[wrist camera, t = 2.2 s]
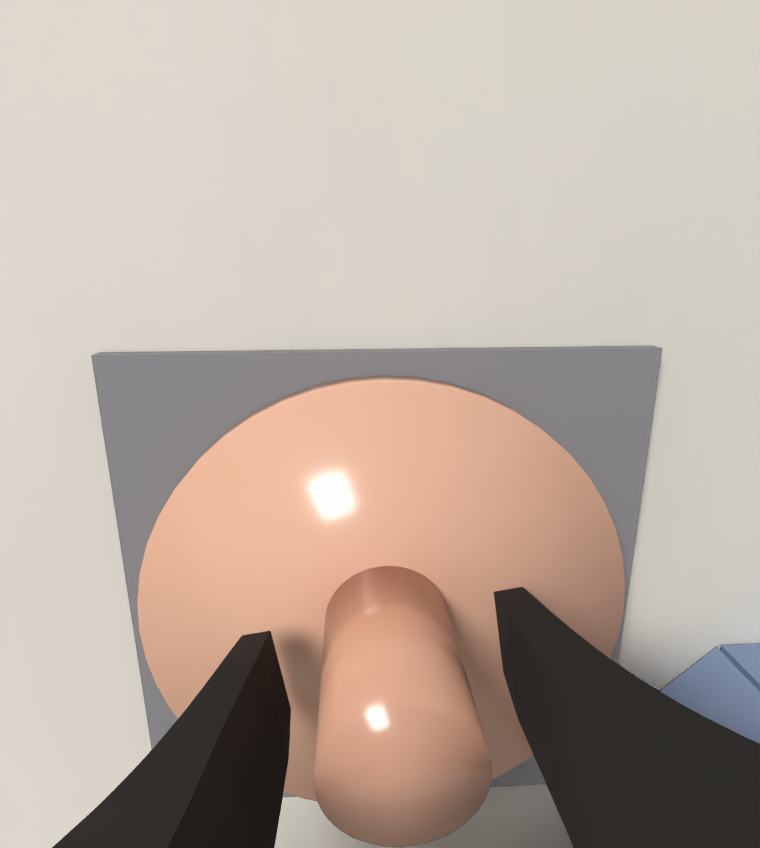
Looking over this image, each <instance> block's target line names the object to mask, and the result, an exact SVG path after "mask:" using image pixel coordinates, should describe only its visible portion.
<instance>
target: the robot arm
mask: <svg viewBox="0 0 760 848" xmlns="http://www.w3.org/2000/svg"><path fill="white" fill-rule="evenodd" d="M494 600H495V608H496V616H497V625H498V633H499V641H500V650H501V658H502V666H503V673H504V676H505V679H506V683H507V686H508V689H509V692H510V696H511V699H512V702H513V705H514V708H515V711H516V714H517V717H518V720H519V723H520V725H521V727H522V730H523V732H524V734H525V736H526V739H527V741H528V743H529V746H530V748H531V750H532V753H533V755H534V757H535V759H536V762H537V764H538V766H539V769H540V771H541V773H542V775H543V778H544V780H545V782H546V784H547V787H548V789H549V791H550V794H551V796H552V798H553V800H554V803H555V805H556V807H557V809H558V812H559V814H560V816H561V819H562V821H563V823H564V825H565V828H566V830H567V832H568V835H569V837H570V840H571V842H572V845H573V847H574V848H760V744H759V743H757V742H755V741H753V740H751V739H748V738H746V737H744V736H742V735H740V734H738V733H736V732H734V731H732V730H730V729H728V728H726V727H724V726H722V725H720V724H718V723H716V722H714V721H712V720H710V719H708V718H706V717H704V716H702V715H700V714H699V713H697V712H695V711H693V710H691V709H689V708H687V707H686V706H684V705H682V704H680V703H679V702H677V701H675V700H674V699H672V698H670V697H669V696H667V695H665V694H663V693H662V692H660V691H658V690H657V689H655V688H653V687H652V686H650V685H648V684H647V683H645V682H644V681H642V680H640V679H639V678H637V677H636V676H634V675H633V674H631V673H630V672H629V671H627V670H626V669H624V668H623V667H621V666H620V665H619V664H617V663H616V662H614V661H613V660H611V659H610V658H609V657H607V656H606V655H605V654H603V653H602V652H601V651H599V650H598V649H597V648H595V647H594V646H593V645H592V644H590V643H589V642H588V641H586V640H585V639H584V638H583V637H581V636H580V635H579V634H577V633H576V632H575V631H574V630H572V629H571V628H570V627H569V626H568V625H566V624H565V623H564V622H563V621H562V620H560V619H559V618H558V617H557V616H556V615H555V614H553V613H552V612H551V611H550V610H549V609H548V608H547V607H545V606H544V605H543V604H542V603H541V602H540V601H539V600H538V599H536V598H535V597H534V596H533V595H532V594H531V593H530V592H529V591H527V590H526V589H525V588H523V587H518V588H512V589H506V590H501V591H495V592H494ZM290 721H291V707H290V703H289V699H288V695H287V692H286V688H285V684H284V680H283V676H282V673H281V669H280V665H279V661H278V657H277V653H276V650H275V646H274V642H273V638H272V634H271V631H265V632H259V633H253V634H247V635H242V636H241V637H240V639H239V640H238V641H237V642H236V644H235V645H234V646H233V648H232V649H231V650H230V652H229V653H228V654H227V656H226V657H225V658H224V660H223V661H222V662H221V664H220V665H219V666H218V668H217V669H216V671H215V672H214V673H213V675H212V676H211V677H210V679H209V680H208V681H207V683H206V684H205V685H204V687H203V688H202V689H201V690H200V692H199V693H198V694H197V696H196V697H195V698H194V699H193V701H192V702H191V703H190V705H189V706H188V707H187V708H186V710H185V711H184V712H183V714H182V715H181V716H180V717H179V718H178V720H177V721H176V722H175V723H174V724H173V725H172V727H171V728H170V729H169V730H168V731H167V733H166V734H165V735H164V736H163V737H162V738H161V740H160V741H159V742H158V743H157V744H156V746H155V747H154V748H153V749H152V750H151V751H150V753H149V754H148V755H147V756H146V757H145V758H144V759H143V760H142V761H141V763H140V764H139V765H138V766H137V767H136V768H135V769H134V770H133V771H132V772H131V773H130V774H129V775H128V776H127V777H126V778H125V779H124V780H123V781H122V782H121V783H120V784H119V786H118V787H117V788H116V789H115V790H114V791H113V792H112V793H111V794H110V795H109V796H108V797H107V798H106V799H105V800H104V801H103V802H102V803H101V804H100V805H98V806H97V807H96V808H95V809H94V810H93V811H92V812H91V813H90V814H89V815H88V816H87V817H86V818H84V819H83V820H82V821H81V822H80V823H79V824H78V825H77V826H76V827H75V828H73V829H72V830H71V831H70V832H69V833H68V834H67V835H66V836H65V837H63V838H62V839H61V840H60V841H59V842H58V843H57V844H56V845H55V846H54V847H52V848H274V845H275V839H276V833H277V827H278V822H279V816H280V810H281V804H282V797H283V791H284V785H285V779H286V773H287V766H288V760H289V743H290Z"/></svg>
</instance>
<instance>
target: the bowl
mask: <svg viewBox="0 0 760 848" xmlns="http://www.w3.org/2000/svg"><path fill="white" fill-rule="evenodd" d="M660 692H662V693H663V694H665V695H667V696H669V697H670V698H672V699H674V700H675V701H677V702H679V703H680V704H682V705H684V706H686V707H687V708H689V709H691V710H693V711H695V712H697V713H699V714H700V715H702V716H704V717H706V718H708V719H710V720H712V721H714V722H716V723H718V724H720V725H722V726H724V727H726V728H728V729H730V730H732V731H734V732H736V733H738V734H740V735H742V736H744V737H746V738H748V739H751V740H753V741H755V742H757V743H759V744H760V644H736V645H721V650H719V649H718V648H717V647H716V648H715V649H713V650H712V651H711V652H710V653H708V654H707V655H706V656H704V657H703V658H702V659H701V660H699V661H698V662H697V663H695V664H694V665H693V666H692V667H690V668H689V669H688V670H686V671H685V672H684V673H683V674H681V675H680V676H679V677H677V678H676V679H675V680H674V681H672V682H671V683H670V684H668V685H667V686H666V687H665V688H663V689H662V690H661V691H660Z"/></svg>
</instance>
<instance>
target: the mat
mask: <svg viewBox="0 0 760 848" xmlns="http://www.w3.org/2000/svg"><path fill="white" fill-rule="evenodd" d="M661 354H662V348H659V347H655V346H592V347H509V348H426V349H344V350H261V351H178V352H100V353H97V354H94V355H91V357H92V363H93V370H94V376H95V383H96V389H97V396H98V402H99V409H100V415H101V422H102V428H103V435H104V441H105V448H106V454H107V461H108V467H109V474H110V480H111V487H112V493H113V500H114V506H115V513H116V519H117V526H118V532H119V539H120V545H121V552H122V558H123V565H124V571H125V578H126V584H127V591H128V597H129V604H130V610H131V617H132V623H133V630H134V636H135V643H136V649H137V656H138V662H139V669H140V675H141V682H142V689H143V695H144V702H145V708H146V715H147V721H148V728H149V734H150V741H151V747H152V749H153V748H154V747H155V746H156V744H157V743H158V742H159V741H160V740H161V738H162V737H163V736H164V735H165V734H166V733H167V731H168V730H169V729H170V728H171V727H172V725H173V724H174V723H175V722H176V721H177V720H178V718H177V717H176V715H175V714H174V713H173V711H172V710H171V709H170V707H169V706H168V704H167V702H166V701H165V699H164V697H163V695H162V694H161V692H160V690H159V688H158V687H157V685H156V683H155V680H154V678H153V675H152V673H151V670H150V668H149V665H148V663H147V660H146V657H145V653H144V649H143V645H142V640H141V636H140V632H139V620H138V606H137V600H138V587H139V575H140V570H141V566H142V562H143V558H144V553H145V549H146V545H147V543H148V540H149V538H150V535H151V533H152V530H153V528H154V526H155V523H156V521H157V518H158V516H159V514H160V513H161V511H162V509H163V508H164V506H165V504H166V503H167V501H168V499H169V498H170V496H171V494H172V493H173V491H174V489H175V488H176V487H177V486H178V484H179V483H180V482H181V480H182V479H183V478H184V477H185V475H186V474H187V473H188V472H189V470H190V469H191V468H192V467H193V466H194V464H195V463H196V462H197V461H198V459H199V458H200V457H201V456H202V455H203V453H204V452H205V451H206V450H207V449H208V448H209V447H210V446H212V445H213V444H214V443H215V442H216V441H217V440H218V439H219V438H220V437H221V436H222V435H223V434H225V433H226V432H227V431H228V430H229V429H231V428H232V427H233V426H235V425H236V424H238V423H239V422H241V421H242V420H244V419H245V418H246V417H248V416H249V415H251V414H252V413H254V412H255V411H257V410H259V409H261V408H263V407H265V406H267V405H269V404H271V403H273V402H275V401H277V400H279V399H280V398H282V397H284V396H287V395H290V394H293V393H296V392H299V391H301V390H304V389H307V388H310V387H313V386H315V385H320V384H324V383H329V382H334V381H338V380H343V379H347V378H357V377H369V376H381V375H387V376H409V377H420V378H426V379H431V380H437V381H443V382H448V383H452V384H455V385H458V386H461V387H464V388H467V389H471V390H474V391H477V392H480V393H482V394H484V395H486V396H488V397H491V398H493V399H495V400H497V401H499V402H501V403H503V404H505V405H507V406H509V407H511V408H512V409H514V410H515V411H517V412H518V413H520V414H521V415H523V416H524V417H526V418H527V419H529V420H530V421H532V422H534V423H535V424H536V425H537V426H538V427H540V428H541V429H542V430H543V431H544V432H546V433H547V434H548V435H549V436H550V437H551V438H552V439H553V440H555V441H556V442H557V443H558V444H559V445H560V446H561V447H563V448H564V449H565V450H566V451H567V452H568V453H569V454H570V455H571V456H572V457H573V458H574V460H575V461H576V462H577V463H578V464H579V465H580V467H581V468H582V469H583V470H584V471H585V473H586V474H587V475H588V476H589V477H590V479H591V481H592V482H593V484H594V486H595V487H596V489H597V491H598V492H599V494H600V495H601V497H602V499H603V500H604V502H605V504H606V507H607V509H608V511H609V514H610V516H611V519H612V521H613V523H614V526H615V528H616V532H617V536H618V540H619V544H620V548H621V552H622V556H623V567H624V578H625V593H624V610H623V615H622V620H621V625H620V630H619V635H618V639H617V642H616V644H615V647H614V650H613V653H612V656H611V658H610V659H611V660H613V661H614V662H616V663H617V664H618V659H619V652H620V644H621V637H622V630H623V623H624V616H625V609H626V602H627V595H628V588H629V581H630V574H631V566H632V559H633V552H634V545H635V538H636V531H637V524H638V517H639V510H640V503H641V496H642V488H643V481H644V474H645V467H646V460H647V453H648V446H649V439H650V432H651V425H652V417H653V410H654V403H655V396H656V389H657V382H658V375H659V368H660V361H661ZM534 784H546V782H545V780H544V778H543V775H542V773H541V771H540V769H539V766H538V764H537V762H536V759H535V757H534V755H532V756H531V757H530V758H528V759H527V760H525V761H524V762H523V763H521V764H520V765H518V766H516V767H514V768H513V769H511V770H509V771H507V772H506V773H504V774H502V775H500V776H499V777H497V778H495V779H492V780H491V785H490V787H495V786H514V785H534ZM283 797H297V796H294V795H291V794H288V793H284V792H283Z"/></svg>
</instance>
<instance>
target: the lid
mask: <svg viewBox="0 0 760 848" xmlns="http://www.w3.org/2000/svg"><path fill="white" fill-rule="evenodd" d="M518 587H523V588H525V589H526V590H527V591H529V592H530V593H531V594H532V595H533V596H534V597H535V598H536V599H538V600H539V601H540V602H541V603H542V604H543V605H544V606H545V607H547V608H548V609H549V610H550V611H551V612H552V613H553V614H555V615H556V616H557V617H558V618H559V619H560V620H562V621H563V622H564V623H565V624H566V625H568V626H569V627H570V628H571V629H572V630H574V631H575V632H576V633H577V634H579V635H580V636H581V637H583V638H584V639H585V640H586V641H588V642H589V643H590V644H592V645H593V646H594V647H595V648H597V649H598V650H599V651H601V652H602V653H603V654H605V655H606V656H607V657H609V658H611V656H612V653H613V650H614V647H615V644H616V642H617V639H618V635H619V630H620V625H621V620H622V615H623V610H624V593H625V578H624V567H623V556H622V552H621V548H620V544H619V540H618V536H617V532H616V528H615V526H614V523H613V521H612V519H611V516H610V514H609V511H608V509H607V507H606V504H605V502H604V500H603V499H602V497H601V495H600V494H599V492H598V491H597V489H596V487H595V486H594V484H593V482H592V481H591V479H590V477H589V476H588V475H587V474H586V473H585V471H584V470H583V469H582V468H581V467H580V465H579V464H578V463H577V462H576V461H575V460H574V458H573V457H572V456H571V455H570V454H569V453H568V452H567V451H566V450H565V449H564V448H563V447H561V446H560V445H559V444H558V443H557V442H556V441H555V440H553V439H552V438H551V437H550V436H549V435H548V434H547V433H546V432H544V431H543V430H542V429H541V428H540V427H538V426H537V425H536V424H535V423H534V422H532V421H530V420H529V419H527V418H526V417H524V416H523V415H521V414H520V413H518V412H517V411H515V410H514V409H512V408H511V407H509V406H507V405H505V404H503V403H501V402H499V401H497V400H495V399H493V398H491V397H488V396H486V395H484V394H482V393H480V392H477V391H474V390H471V389H467V388H464V387H461V386H458V385H455V384H452V383H448V382H443V381H437V380H431V379H426V378H420V377H409V376H387V375H381V376H369V377H357V378H347V379H343V380H338V381H334V382H329V383H324V384H320V385H315V386H313V387H310V388H307V389H304V390H301V391H299V392H296V393H293V394H290V395H287V396H284V397H282V398H280V399H279V400H277V401H275V402H273V403H271V404H269V405H267V406H265V407H263V408H261V409H259V410H257V411H255V412H254V413H252V414H251V415H249V416H248V417H246V418H245V419H244V420H242V421H241V422H239V423H238V424H236V425H235V426H233V427H232V428H231V429H229V430H228V431H227V432H226V433H225V434H223V435H222V436H221V437H220V438H219V439H218V440H217V441H216V442H215V443H214V444H213V445H212V446H210V447H209V448H208V449H207V450H206V451H205V452H204V453H203V455H202V456H201V457H200V458H199V459H198V461H197V462H196V463H195V464H194V466H193V467H192V468H191V469H190V470H189V472H188V473H187V474H186V475H185V477H184V478H183V479H182V480H181V482H180V483H179V484H178V486H177V487H176V488H175V489H174V491H173V493H172V494H171V496H170V498H169V499H168V501H167V503H166V504H165V506H164V508H163V509H162V511H161V513H160V514H159V516H158V518H157V521H156V523H155V526H154V528H153V530H152V533H151V535H150V538H149V540H148V543H147V545H146V549H145V553H144V558H143V562H142V566H141V570H140V575H139V587H138V600H137V606H138V620H139V632H140V636H141V640H142V645H143V649H144V653H145V657H146V660H147V663H148V665H149V668H150V670H151V673H152V675H153V678H154V680H155V683H156V685H157V687H158V688H159V690H160V692H161V694H162V695H163V697H164V699H165V701H166V702H167V704H168V706H169V707H170V709H171V710H172V711H173V713H174V714H175V715H176V717H177V718H179V717H180V716H181V715H182V714H183V712H184V711H185V710H186V708H187V707H188V706H189V705H190V703H191V702H192V701H193V699H194V698H195V697H196V696H197V694H198V693H199V692H200V690H201V689H202V688H203V687H204V685H205V684H206V683H207V681H208V680H209V679H210V677H211V676H212V675H213V673H214V672H215V671H216V669H217V668H218V666H219V665H220V664H221V662H222V661H223V660H224V658H225V657H226V656H227V654H228V653H229V652H230V650H231V649H232V648H233V646H234V645H235V644H236V642H237V641H238V640H239V639H240V637H241V636H242V635H247V634H253V633H259V632H265V631H271V634H272V638H273V642H274V646H275V650H276V653H277V657H278V661H279V665H280V669H281V673H282V676H283V680H284V684H285V688H286V692H287V695H288V699H289V703H290V707H291V721H290V743H289V760H288V766H287V773H286V779H285V785H284V791H283V792H284V793H288V794H291V795H294V796H297V797H300V798H304V799H308V800H313V801H318V804H319V806H320V808H321V810H322V811H323V813H324V814H325V816H326V817H327V818H328V819H329V820H330V821H331V822H332V823H333V824H334V825H335V826H336V827H337V828H338V829H340V830H341V831H342V832H344V833H346V834H348V835H349V836H351V837H353V838H356V839H358V840H360V841H363V842H367V843H370V844H375V845H380V846H390V847H404V846H413V845H418V844H423V843H427V842H430V841H433V840H437V839H439V838H441V837H443V836H446V835H448V834H449V833H451V832H453V831H455V830H456V829H458V828H459V827H461V826H462V825H463V824H465V823H466V822H467V821H468V820H469V819H470V818H471V817H472V816H473V815H474V814H475V813H476V812H477V811H478V810H479V808H480V807H481V805H482V804H483V802H484V800H485V798H486V796H487V794H488V791H489V788H490V785H491V780H492V779H495V778H497V777H499V776H500V775H502V774H504V773H506V772H507V771H509V770H511V769H513V768H514V767H516V766H518V765H520V764H521V763H523V762H524V761H525V760H527V759H528V758H530V757H531V756H532V755H533V753H532V750H531V748H530V746H529V743H528V741H527V739H526V736H525V734H524V732H523V730H522V727H521V725H520V723H519V720H518V717H517V714H516V711H515V708H514V705H513V702H512V699H511V696H510V692H509V689H508V686H507V683H506V679H505V676H504V673H503V666H502V658H501V650H500V641H499V633H498V625H497V616H496V608H495V600H494V592H495V591H501V590H506V589H512V588H518Z"/></svg>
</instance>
